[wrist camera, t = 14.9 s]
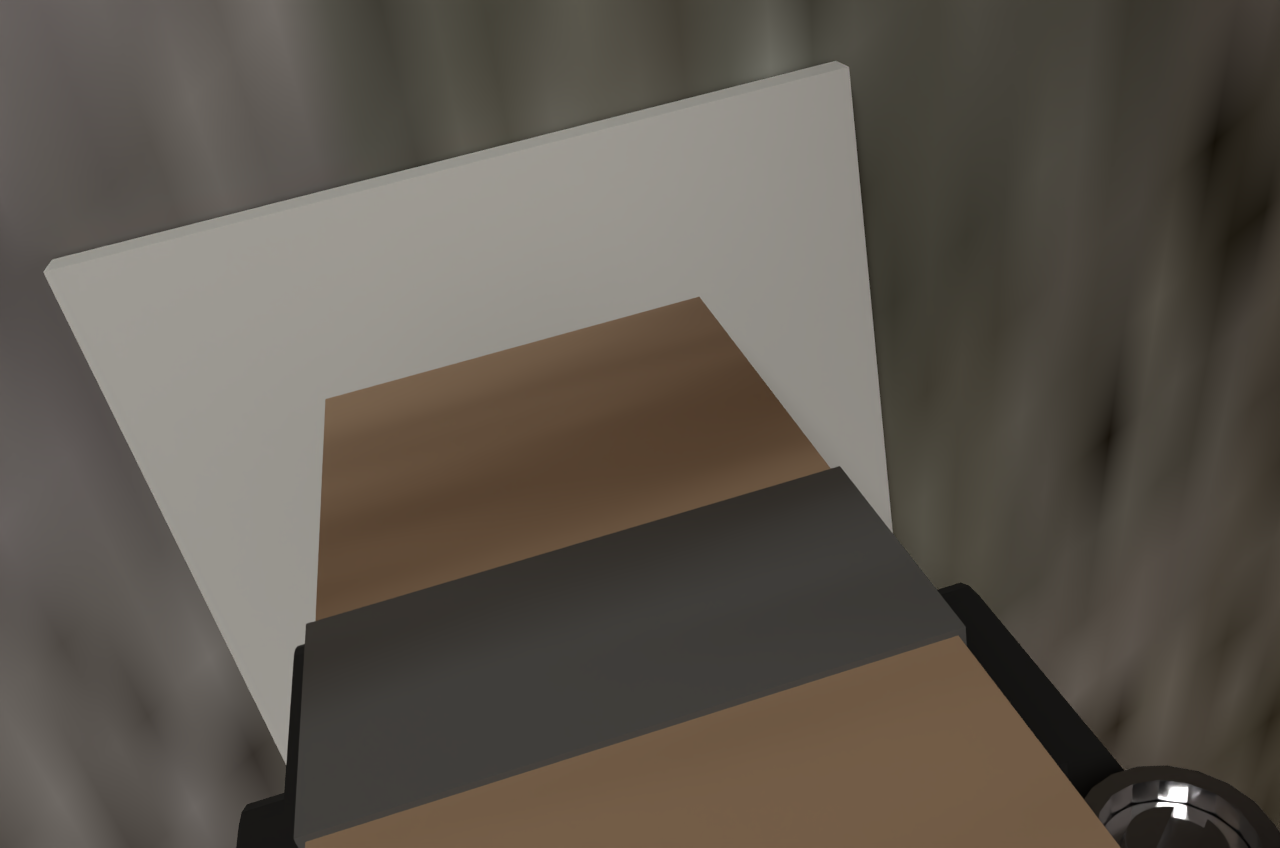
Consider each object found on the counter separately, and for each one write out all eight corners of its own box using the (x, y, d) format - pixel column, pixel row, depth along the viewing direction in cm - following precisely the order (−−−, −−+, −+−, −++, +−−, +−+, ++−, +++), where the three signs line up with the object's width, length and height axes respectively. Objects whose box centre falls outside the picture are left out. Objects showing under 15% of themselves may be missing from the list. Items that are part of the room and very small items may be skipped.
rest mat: (52, 259, 12) (43, 272, 12) (836, 61, 13) (849, 66, 13) (325, 822, 16) (325, 843, 16) (893, 643, 17) (904, 659, 17)
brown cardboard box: (318, 396, 11) (268, 1273, 4) (702, 290, 12) (1208, 936, 5) (475, 805, 14) (593, 1705, 7) (776, 709, 15) (1153, 1476, 8)
